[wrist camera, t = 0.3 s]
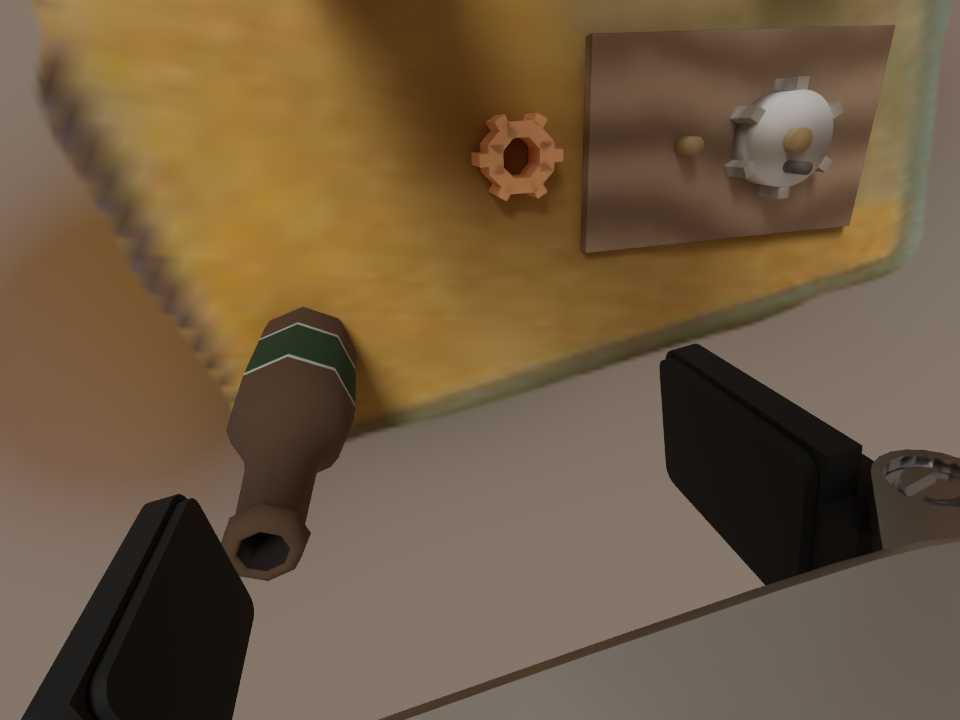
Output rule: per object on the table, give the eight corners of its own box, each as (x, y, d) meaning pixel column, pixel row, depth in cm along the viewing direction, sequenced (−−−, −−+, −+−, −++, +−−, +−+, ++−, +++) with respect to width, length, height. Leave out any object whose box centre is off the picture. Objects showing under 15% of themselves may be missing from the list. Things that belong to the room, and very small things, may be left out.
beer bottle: (358, 387, 47) (359, 607, 25) (264, 393, 45) (181, 633, 24) (352, 302, 44) (349, 471, 22) (252, 305, 42) (144, 490, 21)
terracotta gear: (469, 116, 40) (477, 115, 37) (550, 112, 41) (563, 110, 38) (473, 198, 43) (481, 203, 40) (549, 192, 44) (562, 196, 41)
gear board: (586, 36, 40) (620, 22, 34) (882, 27, 44) (951, 14, 39) (580, 250, 46) (608, 265, 41) (838, 223, 51) (892, 234, 45)
